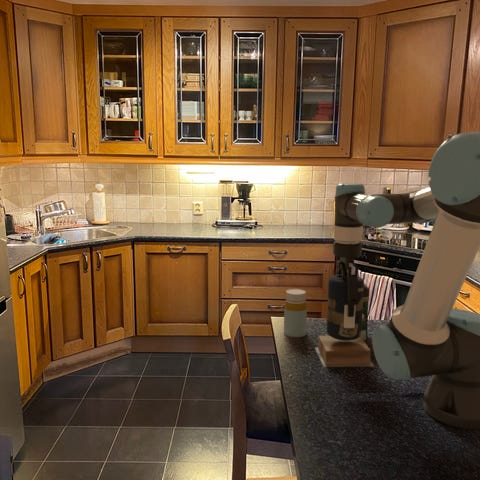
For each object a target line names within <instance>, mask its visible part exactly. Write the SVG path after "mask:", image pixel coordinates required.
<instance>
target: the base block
mask: <svg viewBox="0 0 480 480" xmlns="http://www.w3.org/2000/svg"><path fill="white" fill-rule="evenodd" d="M317 342H318V344H317V347H318V349H319V352H320V354H321V356H322V358H323V360H324V362H325V365H370V361H371V354H372V353H371V352H372V351H371V349H370V348H369V346H368V344H366V342H365V340H363V339H362V338H361V336H360V337H359V338H357V339H355V340H349V341H345V340H338V339H335V338H332V337H331V336H329V335H318V341H317Z"/></svg>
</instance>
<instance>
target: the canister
mask: <svg viewBox="0 0 480 480" xmlns="http://www.w3.org/2000/svg"><path fill="white" fill-rule="evenodd" d="M364 284H365V281H364V278H362V277H361V276H358V302H359V303H358V305H356V306H355V328H344V309H345V305H343V303H344V302H346V287H348V285H347V282H345V281H344V280H343V279H342V274H338V275H335V274H334V275H331V276H330V277H329V279H328V287H327V311H326V313H327V314H326V316H327V317H326V333H327V334H328V335H327V336H331V337H332V338H335V339H338V340H345V341H349V340H355V339H357V338H359V337H360V335H361V327H362V313H363V290H364Z"/></svg>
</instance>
